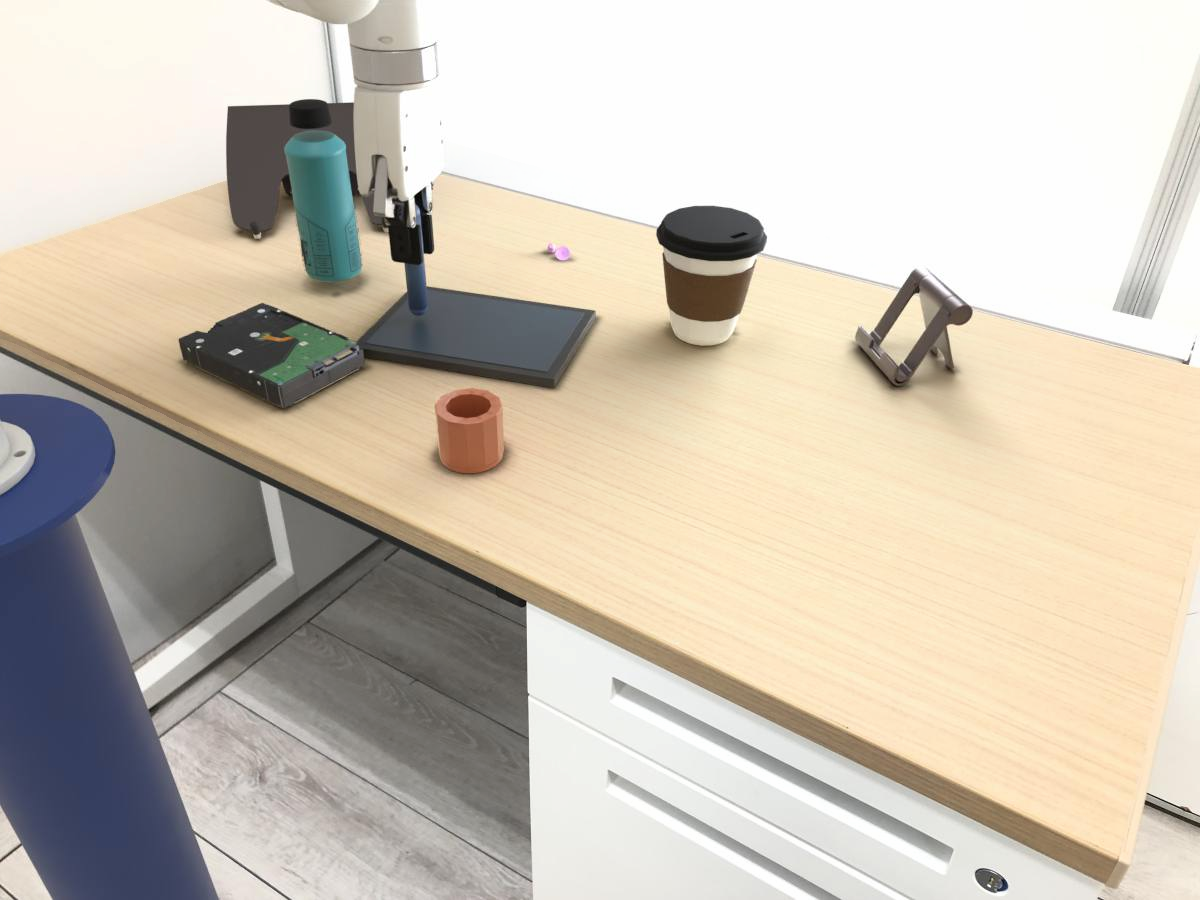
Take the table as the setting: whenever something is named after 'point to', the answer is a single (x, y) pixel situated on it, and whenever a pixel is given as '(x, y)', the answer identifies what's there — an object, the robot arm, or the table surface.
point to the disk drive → (272, 354)
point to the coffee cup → (708, 269)
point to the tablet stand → (937, 314)
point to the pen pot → (470, 430)
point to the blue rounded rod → (416, 280)
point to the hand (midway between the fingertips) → (413, 255)
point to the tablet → (481, 336)
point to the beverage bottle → (322, 195)
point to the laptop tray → (275, 161)
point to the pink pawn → (559, 251)
